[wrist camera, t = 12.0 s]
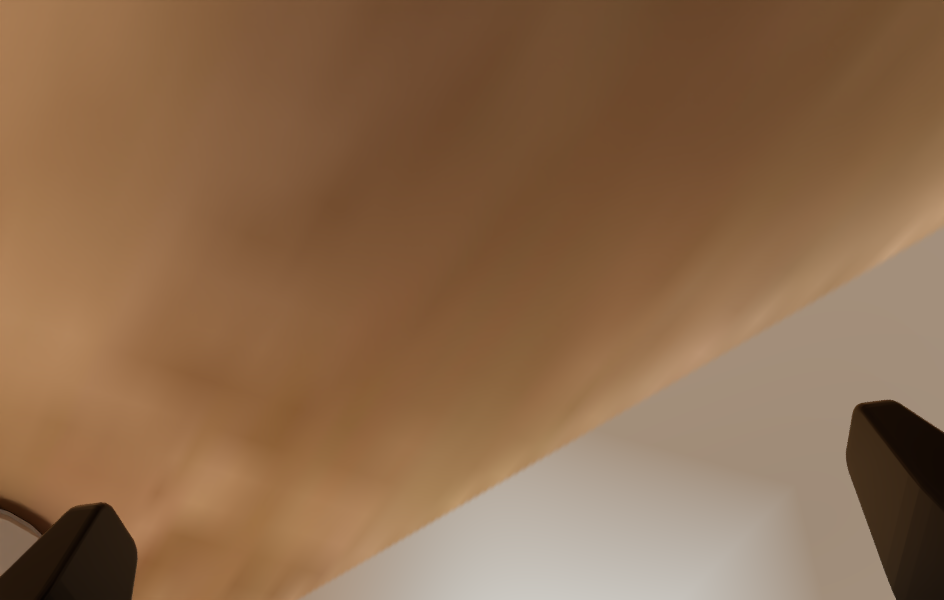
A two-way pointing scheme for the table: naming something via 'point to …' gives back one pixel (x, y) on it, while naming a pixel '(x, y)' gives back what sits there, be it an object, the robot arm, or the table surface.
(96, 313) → the table surface
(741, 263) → the table surface
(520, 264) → the table surface
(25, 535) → the can
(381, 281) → the table surface
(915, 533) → the robot arm
